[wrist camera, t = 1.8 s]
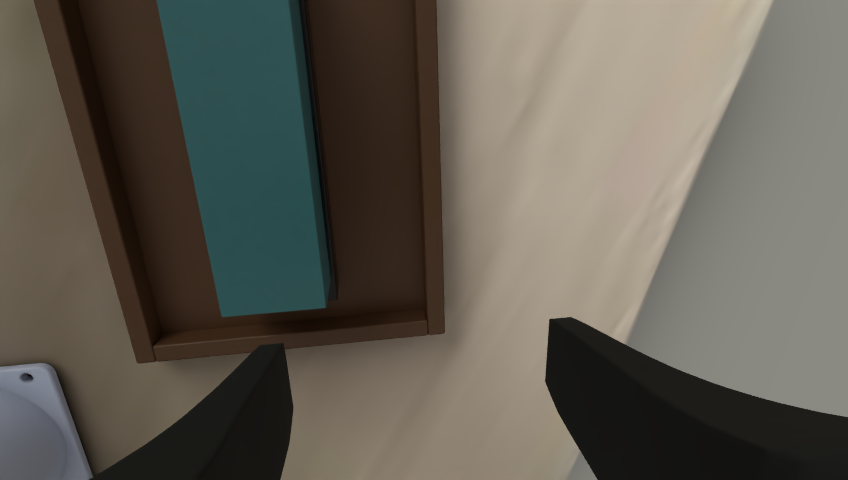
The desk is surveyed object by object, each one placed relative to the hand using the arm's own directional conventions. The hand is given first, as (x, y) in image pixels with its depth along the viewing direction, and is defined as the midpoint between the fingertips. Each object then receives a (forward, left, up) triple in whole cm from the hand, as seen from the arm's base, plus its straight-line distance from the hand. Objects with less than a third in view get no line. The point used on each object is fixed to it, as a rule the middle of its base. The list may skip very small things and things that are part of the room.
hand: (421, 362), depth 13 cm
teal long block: (-5, +5, -9) cm, 12 cm away
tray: (-5, +5, -10) cm, 12 cm away
